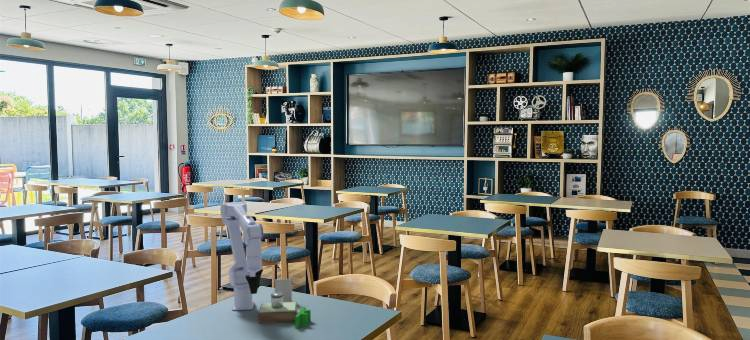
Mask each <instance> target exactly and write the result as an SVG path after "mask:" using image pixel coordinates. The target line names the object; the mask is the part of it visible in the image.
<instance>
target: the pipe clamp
mask: <svg viewBox="0 0 750 340" xmlns="http://www.w3.org/2000/svg"><path fill="white" fill-rule="evenodd" d="M311 313H312V312H311V309H307V308H306V306H302V307H301V309H300V310H299V311H297V315H296V316H295V322H294V324H295V329H299V328H300V327H302V326H304V327H305V326H306V327H308V325H309V323H311V320H312V319H311ZM308 322H309V323H308Z"/></svg>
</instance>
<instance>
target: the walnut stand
mask: <svg viewBox="0 0 750 340" xmlns="http://www.w3.org/2000/svg"><path fill="white" fill-rule="evenodd" d="M297 314H298V302H296V301H292V302H283V307H282V308H278V309H275V308H271V302H261V304H260V306H259V310H258V316H257V317H258V324H280V323H281V324H282V323H295V316H296V315H297Z"/></svg>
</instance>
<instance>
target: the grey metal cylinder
mask: <svg viewBox="0 0 750 340" xmlns="http://www.w3.org/2000/svg"><path fill="white" fill-rule="evenodd" d="M270 303H271V308H275V309H278V308H282V307H283V293H281V292H275V291H274V292H272V293H271V294H270Z"/></svg>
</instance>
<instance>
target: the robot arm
mask: <svg viewBox="0 0 750 340" xmlns="http://www.w3.org/2000/svg"><path fill="white" fill-rule="evenodd" d="M247 213H248V207H247V202H246V201H243V200H242V201H231V202H222V203H221V205H220V216H221V222H222V224H223V225H225V226H226V228H227V230H228V231H227V232H228V235H229V242H230V246H231V251H232V257H233V262H234V263H233V264H232V265H231V266H230V267H229V269H228V280H229V284H230V285H231V287H233V301H234V303H233V307H232V309H231V311H243V310H245V311H246V310H253V308H254V305H255V301H253V295H255V294H258V291H259V290H258V289H259V288H260V283H261V278H262V273H263V271H264V269H263V263H262V262H263V261H262V260H263V258H262V257H263V256H262V253H263V252H262V239H263V238H264V227H263V225H262V223H257V222H256V221H255V219H254V218H253V217H252V215H250V214H247ZM241 230H242V231H243V236H242V232H241ZM242 237H243V238H244V243H243V238H242ZM244 245H245V246H244ZM244 247H245V248H246V249H245V248H244ZM245 250H246V251H245Z"/></svg>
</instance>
